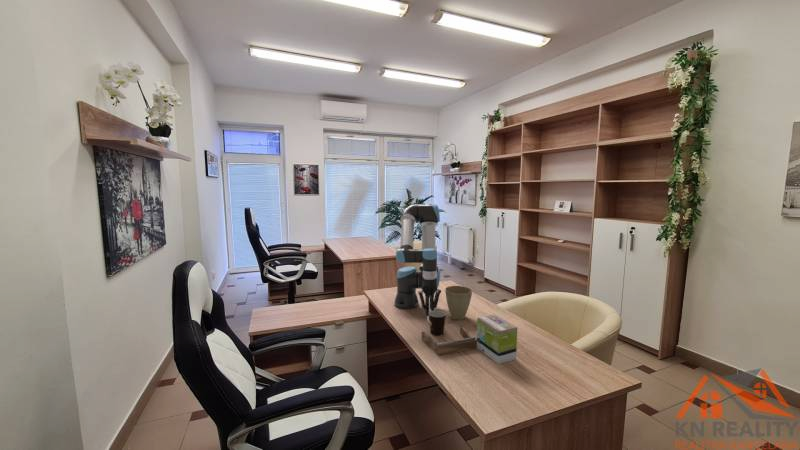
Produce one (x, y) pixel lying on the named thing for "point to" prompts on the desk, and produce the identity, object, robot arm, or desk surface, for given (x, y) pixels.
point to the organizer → (451, 343)
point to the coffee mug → (437, 322)
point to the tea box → (497, 338)
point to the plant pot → (458, 300)
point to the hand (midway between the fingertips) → (429, 321)
